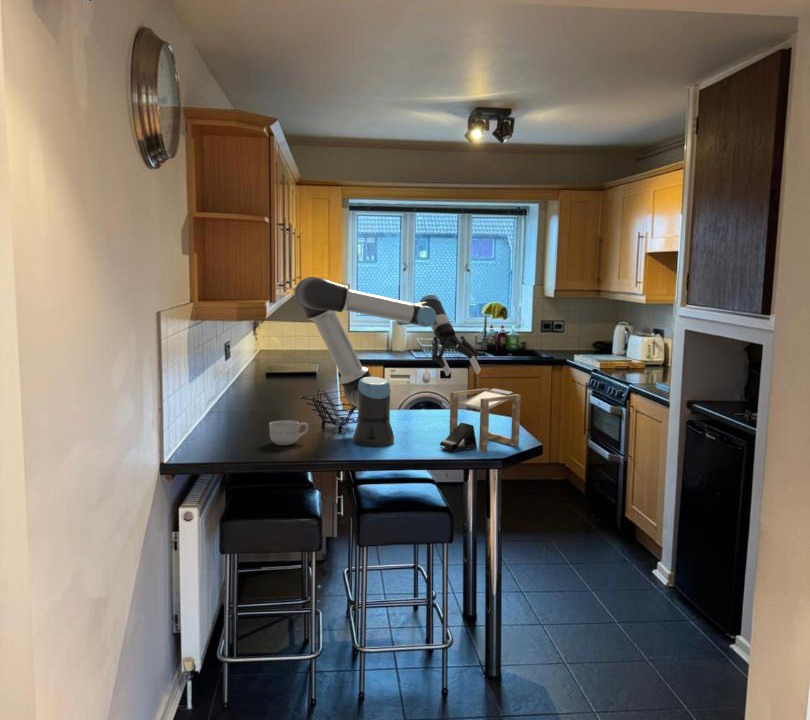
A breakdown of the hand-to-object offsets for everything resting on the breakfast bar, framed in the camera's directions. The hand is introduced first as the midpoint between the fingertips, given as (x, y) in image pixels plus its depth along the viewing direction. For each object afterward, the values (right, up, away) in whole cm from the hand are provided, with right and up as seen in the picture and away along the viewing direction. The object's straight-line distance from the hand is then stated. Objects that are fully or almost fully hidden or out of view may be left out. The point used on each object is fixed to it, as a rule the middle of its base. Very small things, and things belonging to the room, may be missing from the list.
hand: (463, 372), depth 266 cm
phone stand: (+2, -22, -6) cm, 23 cm away
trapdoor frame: (+7, -26, -2) cm, 27 cm away
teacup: (-64, -26, -6) cm, 69 cm away
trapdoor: (+9, -12, -2) cm, 15 cm away
